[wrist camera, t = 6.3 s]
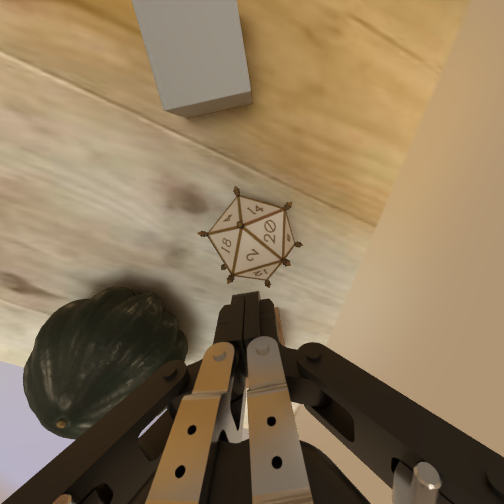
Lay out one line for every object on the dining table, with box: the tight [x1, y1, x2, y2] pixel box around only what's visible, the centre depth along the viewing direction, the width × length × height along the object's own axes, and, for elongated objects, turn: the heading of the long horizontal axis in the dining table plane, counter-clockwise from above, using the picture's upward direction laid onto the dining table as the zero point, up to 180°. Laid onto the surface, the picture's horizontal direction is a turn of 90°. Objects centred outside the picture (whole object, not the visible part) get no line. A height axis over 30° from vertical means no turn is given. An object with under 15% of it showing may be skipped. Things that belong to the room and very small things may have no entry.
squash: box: [23, 287, 188, 439], centre depth 26 cm, size 14×15×15 cm
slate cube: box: [132, 0, 252, 118], centre depth 18 cm, size 6×6×6 cm
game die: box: [198, 186, 303, 288], centre depth 22 cm, size 9×8×10 cm
